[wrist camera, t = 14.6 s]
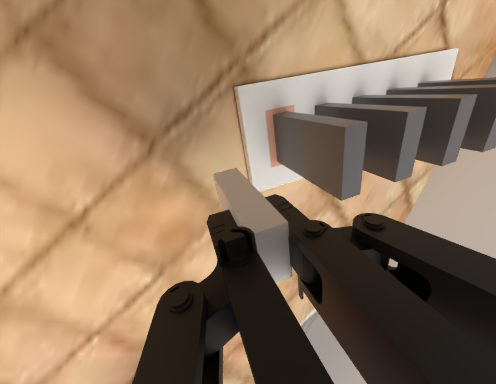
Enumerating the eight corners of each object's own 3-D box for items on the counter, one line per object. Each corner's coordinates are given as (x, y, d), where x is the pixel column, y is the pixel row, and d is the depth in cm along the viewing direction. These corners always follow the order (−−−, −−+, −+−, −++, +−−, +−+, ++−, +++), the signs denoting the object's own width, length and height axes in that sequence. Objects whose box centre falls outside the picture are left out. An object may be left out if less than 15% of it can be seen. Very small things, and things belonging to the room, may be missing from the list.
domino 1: (287, 111, 21) (367, 121, 13) (290, 158, 24) (360, 193, 15) (272, 114, 21) (345, 127, 12) (277, 161, 23) (341, 200, 15)
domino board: (233, 86, 20) (237, 86, 19) (447, 49, 26) (458, 47, 25) (250, 189, 25) (254, 193, 24) (426, 137, 31) (435, 139, 30)
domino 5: (380, 133, 26) (482, 152, 18) (386, 90, 24) (507, 86, 16) (390, 131, 27) (495, 147, 18) (397, 87, 24) (521, 83, 16)
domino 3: (349, 142, 25) (441, 166, 17) (352, 97, 23) (461, 98, 14) (359, 139, 26) (455, 161, 17) (364, 94, 23) (477, 94, 15)
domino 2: (314, 151, 24) (394, 182, 16) (314, 105, 22) (408, 111, 13) (326, 148, 25) (411, 176, 16) (327, 102, 22) (426, 107, 14)
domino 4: (409, 125, 27) (519, 139, 19) (417, 83, 25) (547, 76, 17) (418, 123, 28) (530, 135, 19) (427, 81, 26) (559, 73, 17)
